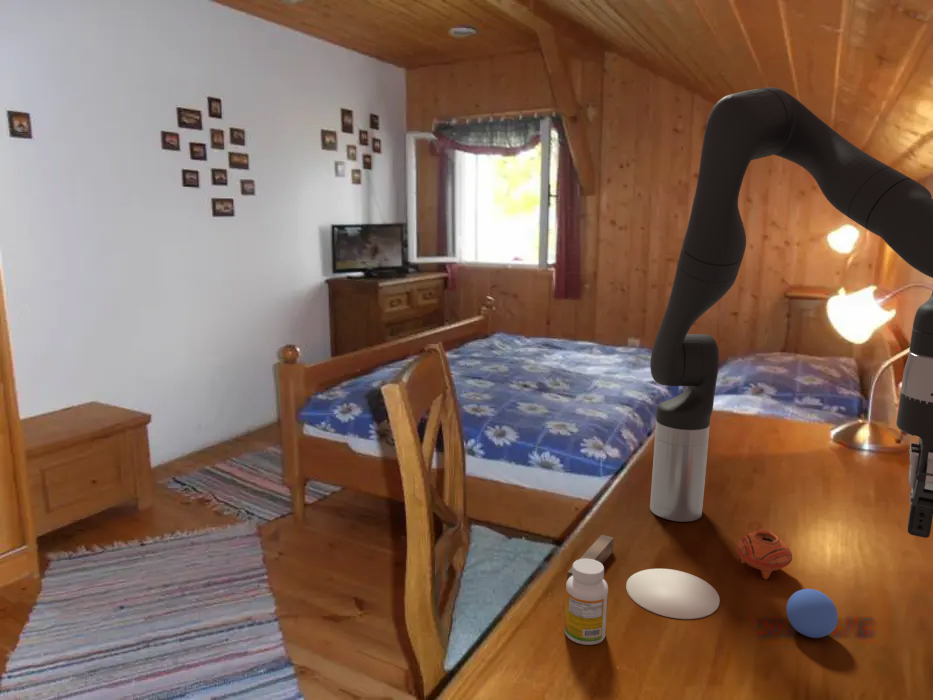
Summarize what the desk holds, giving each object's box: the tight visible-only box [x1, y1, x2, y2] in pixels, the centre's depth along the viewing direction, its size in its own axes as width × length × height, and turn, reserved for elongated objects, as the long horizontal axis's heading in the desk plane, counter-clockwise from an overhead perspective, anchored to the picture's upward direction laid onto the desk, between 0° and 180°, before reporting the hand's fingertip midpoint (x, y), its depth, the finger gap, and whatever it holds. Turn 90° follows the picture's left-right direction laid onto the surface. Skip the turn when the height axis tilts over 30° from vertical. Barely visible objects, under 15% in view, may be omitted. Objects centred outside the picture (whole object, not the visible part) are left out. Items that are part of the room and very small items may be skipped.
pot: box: [736, 529, 793, 580], centre depth 105 cm, size 8×8×7 cm
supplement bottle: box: [563, 558, 609, 646], centre depth 88 cm, size 5×5×10 cm
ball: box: [786, 588, 839, 639], centre depth 89 cm, size 6×6×6 cm
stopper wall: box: [566, 534, 615, 581], centre depth 105 cm, size 14×2×2 cm, turn 148°
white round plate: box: [625, 568, 721, 620], centre depth 99 cm, size 13×13×1 cm
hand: (917, 533), depth 81 cm, fingers closed
